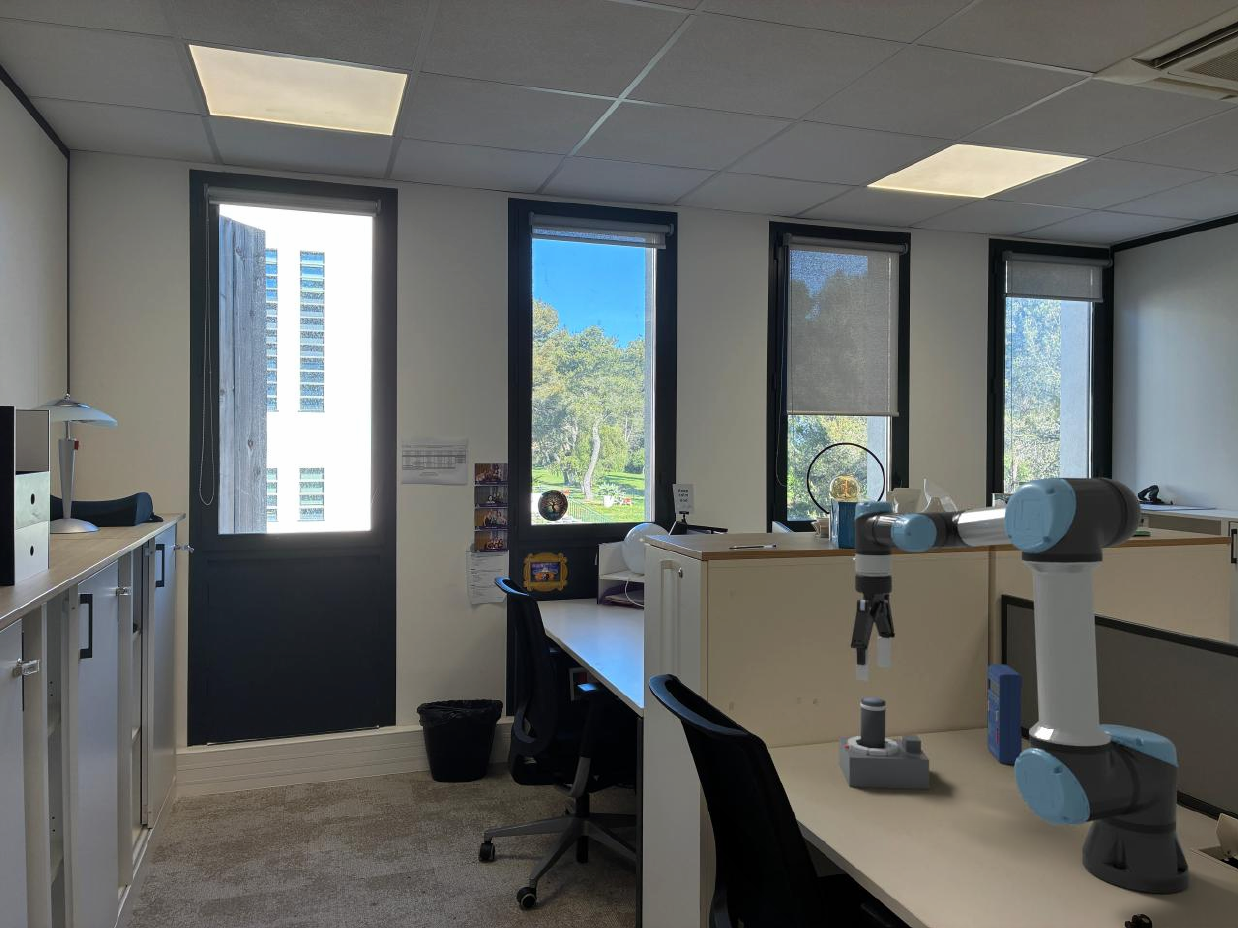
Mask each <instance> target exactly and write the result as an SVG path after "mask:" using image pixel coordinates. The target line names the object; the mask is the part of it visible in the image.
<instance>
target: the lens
mask: <svg viewBox="0 0 1238 928" xmlns="http://www.w3.org/2000/svg"><path fill="white" fill-rule="evenodd" d="M886 709H887V704H886V700H884V699H881V698H877V697H864V698H861V699H860V736H861V746H863V747H867V748H878V749H883V748H885V738H886Z"/></svg>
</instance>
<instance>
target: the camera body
mask: <svg viewBox="0 0 1238 928" xmlns="http://www.w3.org/2000/svg"><path fill="white" fill-rule="evenodd" d="M838 749H839V750H838V765H839V767H840V770H841V772H842V774H843V775H844V778H845V780H846V782H847V784H848V786H849V787H857V788H865V787H866V788H885V789H887V788H889V789H890V788H891V789H917V790H918V789H920V790H921V789H922V790H929V789H930V759H929V758H928V755H926V753H924V751H923V750H922V740H921V739H920V737H919V736H918V735H917V734H902V735H901V738H886V737H885V748H883V749H878V748H867V747H863V746H861V735H856V736H853V737H842V736H841V737H839V739H838Z"/></svg>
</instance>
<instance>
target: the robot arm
mask: <svg viewBox="0 0 1238 928" xmlns="http://www.w3.org/2000/svg"><path fill="white" fill-rule="evenodd" d="M892 506H893V505H892V504H891V503H890V502H889V501H879V500H877V501H875V500H873V501H872V500H868V501H865V500H863V501H859V502H857V503H856V505H855V515H854V520H853V522H854V549H855V551H854V552H855V555H854V557H853V558H852V559H853V561H854V562H855V563H854V564H855V566H854V567H855V572H856V574H855V576H854V588H855V589H854V590H855V592H856V593H860V594H862V596H863V597H862V599H857V600H856V612H855V619H854V623H853V624H854V625H853V631H852V638H851V643H850V648H851V649H855V680H856V681H857V680H858V681H862V682H863V681H864V682H870V678H871V677H870V674H871V673H870V670H871V669H870V666H871V664H870V662H871V661H870V660H871V658H870V656H871V655H870V651H871V650H870V648H869V644H870V640H871V636H872V631H873V628H874V625H875V626H876V630H877V633H878V636H877V639H876V641H877V644H876V645H877V647H876V651H877V655H876V656H877V658H876V659H877V660H876V663H877V666H876V667H877V668H882V669H888V670H889V669H891V668H892V666H891V663H892V662H891V661H892V659H891V658H892V656H891V654H892V653H891V645H892V644H891V642H892V641H891V638H892V639H893V638H895V636H896V633H895V628H894V620H893V616H892V610H891V609H892V608H891V604H890V593H892V591H893V582H892V581H893V577H892V576H891V574H892V572H893V554H892V553H893V552H892V551H893V550H899V551H904V552H907V553H913V552H916V553H922V552H925V551H927V550H938V549H971V548H975V547H985V546H995V545H1011V544H1012V545H1013V547H1015V548H1016V549H1017V550H1020V551H1021V562H1022V564H1024V565H1025V566H1026V567H1027V568H1028V569H1029V570H1030V571H1031V573H1032V583H1033V584H1032V586H1033V589H1032V590H1033V609H1034V613H1033V614H1034V633H1035V634H1034V636H1035V656H1036V661H1035V662H1036V679H1037V680H1036V682H1037V683H1036V684H1037V704H1038V705H1037V706H1038V707H1037V708H1038V721H1037V722H1036V723H1034V725H1032V727H1030V729H1028V730H1029V731H1028V735H1029V738H1028V739H1029V742H1028V743H1029V748H1027V749H1024V750H1022V753H1020V756H1019V757H1017V759H1016V761H1015V764H1014V768H1013V769H1014V770H1013V772H1014V780H1015V783H1016V787H1017V789H1018V792H1019V795H1021V798H1022V800H1023V801H1024V802H1025V803H1026V804H1027V805H1028V807H1029V809H1030V810H1031V811H1032V813H1034V814H1035V815H1036V816H1038V818H1040V819H1042V820H1043V821H1045V822H1047V823H1049V824H1052V825H1056V826H1069V825H1074V826H1077V825H1082V824H1085V823H1088V822H1091V825H1090V827H1089V830H1088V833H1087V836H1086V837H1085V840H1084V843H1083V845H1082V851H1081V854H1082V855H1081V856H1082V857H1081V858H1082V859H1081V860H1082V861H1081V862H1082V865H1083V866H1084V868H1085V869H1086V870H1087V871H1088V872H1089V873H1091V874H1092V875H1094V876H1095V877H1097V878H1099V879H1101V880H1103V881H1105V882H1107V883H1109V884H1112V885H1114V886H1118V887H1121V888H1124V889H1129V890H1132V891H1137V892H1143V893H1149V894H1151V893H1152V894H1171V893H1172V894H1175V893H1180V892H1181V891H1184V890H1186V889H1187V888H1188V887H1189V885H1190V868H1189V865H1188V862H1187V859H1186V856H1185V852H1184V850H1183V847H1182V845H1181V841H1180V839H1179V836H1178V832H1177V815H1178V814H1177V809H1178V808H1177V804H1178V803H1177V801H1178V798H1177V796H1178V778H1177V777H1178V768H1179V763H1178V759H1177V748H1176V745H1175V744H1174V742H1172V741H1171V740H1170V739H1169V738H1167V737H1165V736H1163V735H1161V734H1157V733H1154V732H1151V731H1149V730H1148V731H1147V730H1145V729H1144V730H1143V729H1140V728H1135V727H1131V726H1125V725H1119V724H1112V723H1111V724H1110V723H1109V724H1108V723H1107V724H1105V723H1104V724H1103V723H1102V724H1100V713H1099V712H1100V711H1099V708H1100V707H1099V691H1098V688H1099V687H1098V665H1097V648H1096V646H1097V645H1096V623H1095V601H1094V599H1095V598H1094V580H1093V574H1094V572H1095V570H1096V569H1098V568H1099V567H1100V566H1101V565H1102V564H1103V563H1104V560H1103V558H1104V557H1103V549H1107V548H1114V547H1117V546H1120V545H1123V544H1124V543H1126V542H1127V541H1128V540H1130V539H1131V538H1132V537H1133V536H1134V535H1135V534H1136V532H1137V531H1138V529H1139V528H1140V524H1141V522H1142V516H1143V515H1142V513H1143V512H1142V506H1141V503H1140V500H1139V499H1138V497H1137V496H1136V494H1135V493H1134V492H1133V490H1132V489H1131V488H1129V487H1128V486H1127V485H1126V484H1124V483H1122V482H1120V481H1118V480H1116V479H1112V478H1108V477H1054V476H1053V477H1052V476H1051V477H1046V478H1038V479H1036V478H1035V479H1031V480H1029V481H1026V482H1024V483H1023V484H1021V485H1020V486H1019V487H1018V488H1017V489H1016V490H1015V492H1014V493H1012V494H1011V496H1010V497H1009V499H1008V501H1007V503H1006V504H1002V505H995V506H987V507H978V508H973V509H972V508H970V509H965V510H957V511H943V512H939V511H938V512H937V511H936V512H933V511H932V512H893V507H892Z"/></svg>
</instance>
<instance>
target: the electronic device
mask: <svg viewBox="0 0 1238 928" xmlns="http://www.w3.org/2000/svg"><path fill="white" fill-rule="evenodd" d="M1022 689H1023V676H1022V675H1021V674H1020V673H1019V672H1017V671H1016V670H1014V669H1013V668H1012V667H1011V666H1009V665H1007V664H990V665H988V666H987V750H988V751H989V752H990V753H991V754H992V755H993V756H994V757H995V759H996V760H997V761H999V762H1000V763H1001V764H1003V765H1015V761H1016V759H1017V757H1019V756H1020V753H1022V752H1023V750H1022V749H1023V748H1022V747H1023V743H1022V742H1023V733H1022Z"/></svg>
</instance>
